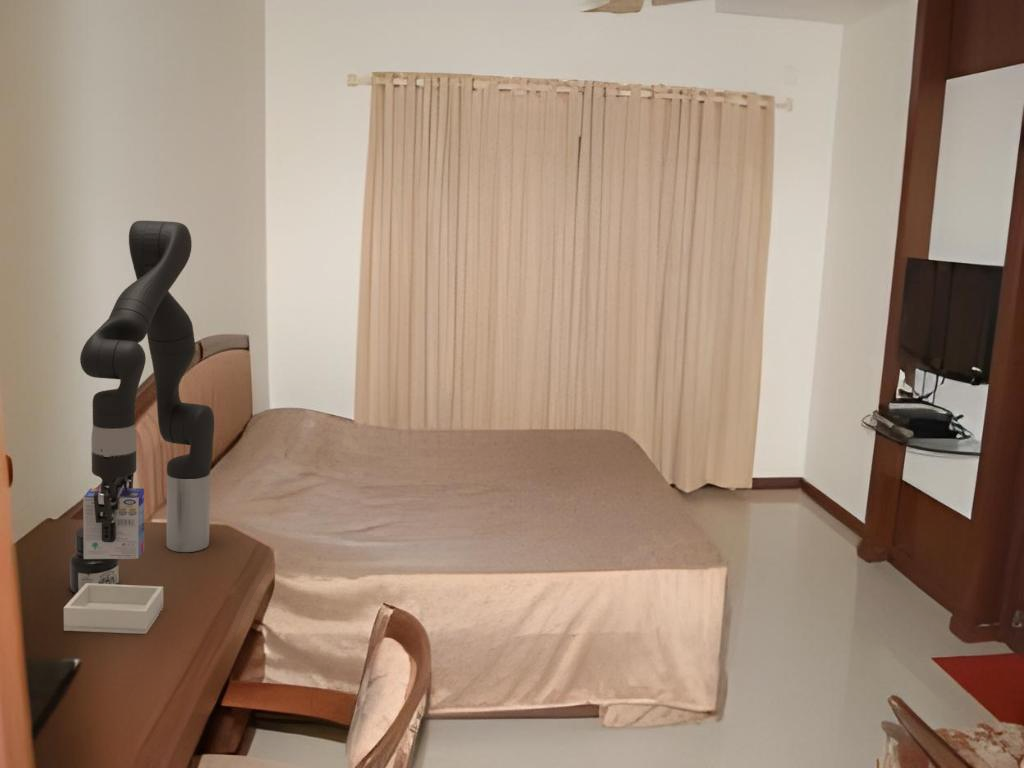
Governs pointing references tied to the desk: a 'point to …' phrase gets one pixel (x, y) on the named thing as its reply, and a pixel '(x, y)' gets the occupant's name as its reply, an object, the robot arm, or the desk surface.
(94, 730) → the desk surface
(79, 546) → the ink bottle
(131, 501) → the ink cartridge box
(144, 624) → the tray
